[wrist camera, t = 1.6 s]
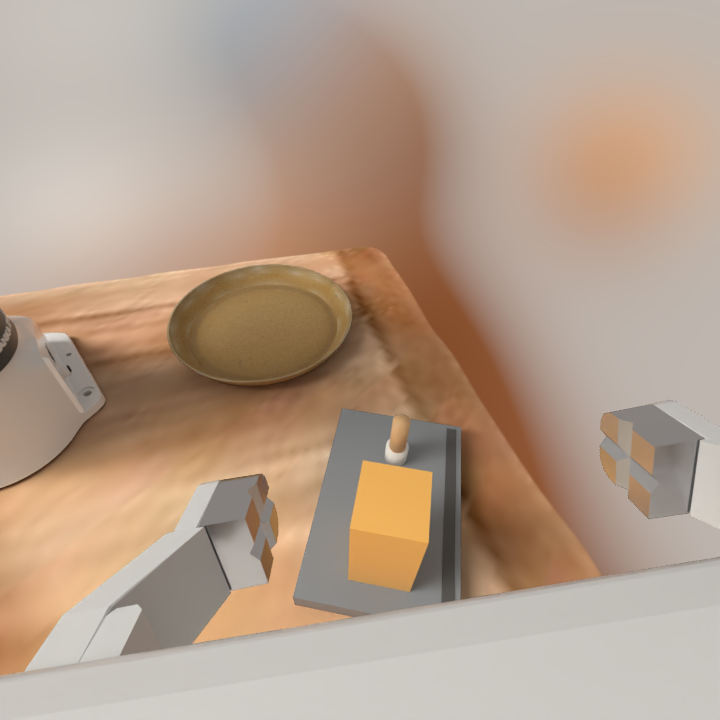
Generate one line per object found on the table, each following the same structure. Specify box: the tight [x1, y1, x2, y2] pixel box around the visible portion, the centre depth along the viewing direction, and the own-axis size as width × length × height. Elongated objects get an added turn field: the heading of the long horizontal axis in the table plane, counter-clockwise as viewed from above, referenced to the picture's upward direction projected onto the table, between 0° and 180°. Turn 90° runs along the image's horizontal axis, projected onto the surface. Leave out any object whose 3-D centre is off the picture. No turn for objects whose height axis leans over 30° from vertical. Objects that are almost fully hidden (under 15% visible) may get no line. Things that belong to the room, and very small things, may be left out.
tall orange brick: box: [348, 460, 432, 592], centre depth 31 cm, size 5×5×10 cm
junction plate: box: [293, 408, 461, 617], centre depth 37 cm, size 19×13×8 cm
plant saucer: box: [167, 264, 352, 386], centre depth 56 cm, size 24×24×3 cm
